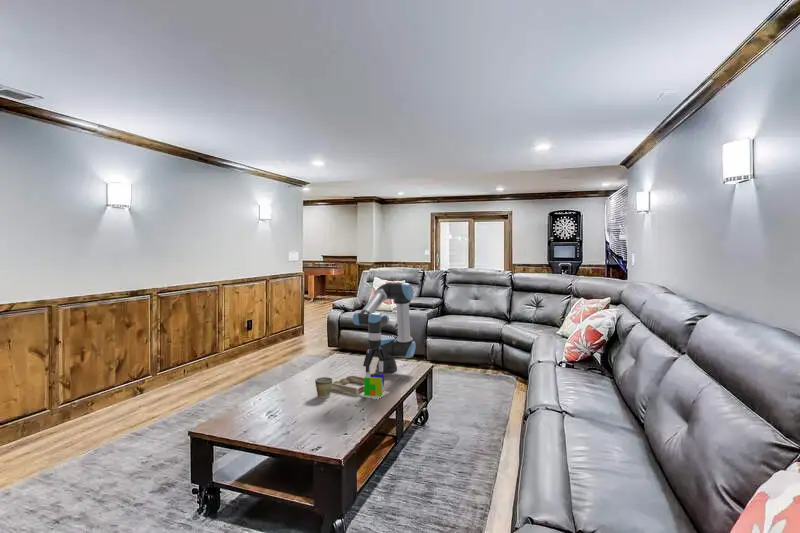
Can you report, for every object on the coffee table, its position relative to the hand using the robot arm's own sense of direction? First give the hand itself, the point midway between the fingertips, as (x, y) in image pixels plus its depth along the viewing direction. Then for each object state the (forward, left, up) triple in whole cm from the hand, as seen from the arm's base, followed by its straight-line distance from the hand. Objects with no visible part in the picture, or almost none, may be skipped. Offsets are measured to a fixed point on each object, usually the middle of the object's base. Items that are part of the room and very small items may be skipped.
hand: (374, 374), depth 258 cm
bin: (-4, -18, -12) cm, 22 cm away
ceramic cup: (+17, -24, -12) cm, 32 cm away
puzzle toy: (0, 0, -11) cm, 11 cm away
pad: (0, 0, -12) cm, 12 cm away
